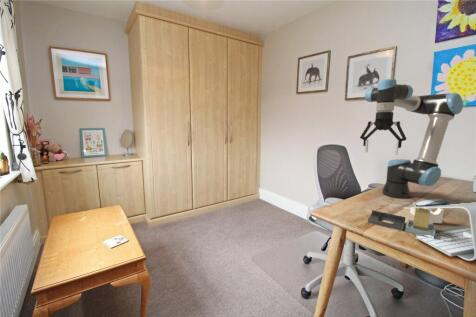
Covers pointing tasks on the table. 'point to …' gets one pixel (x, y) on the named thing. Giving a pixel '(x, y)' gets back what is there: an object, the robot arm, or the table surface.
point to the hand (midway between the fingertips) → (380, 153)
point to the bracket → (431, 215)
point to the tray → (415, 231)
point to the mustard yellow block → (421, 219)
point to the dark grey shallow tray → (397, 220)
